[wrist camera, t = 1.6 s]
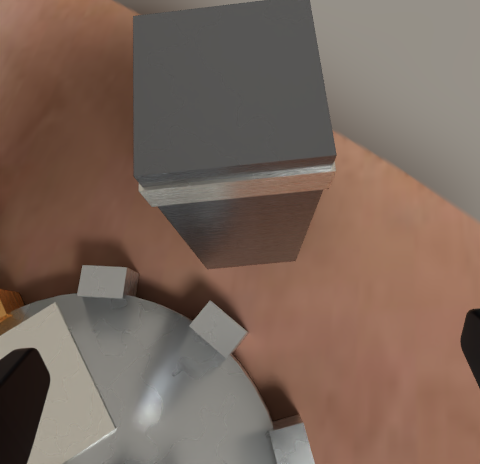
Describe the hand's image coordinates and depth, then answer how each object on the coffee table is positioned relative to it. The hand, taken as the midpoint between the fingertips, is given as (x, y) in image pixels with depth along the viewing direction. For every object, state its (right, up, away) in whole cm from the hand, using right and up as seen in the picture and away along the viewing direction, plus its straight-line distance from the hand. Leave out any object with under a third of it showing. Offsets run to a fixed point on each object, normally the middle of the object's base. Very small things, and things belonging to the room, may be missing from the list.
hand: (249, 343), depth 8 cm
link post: (0, +3, +14) cm, 14 cm away
